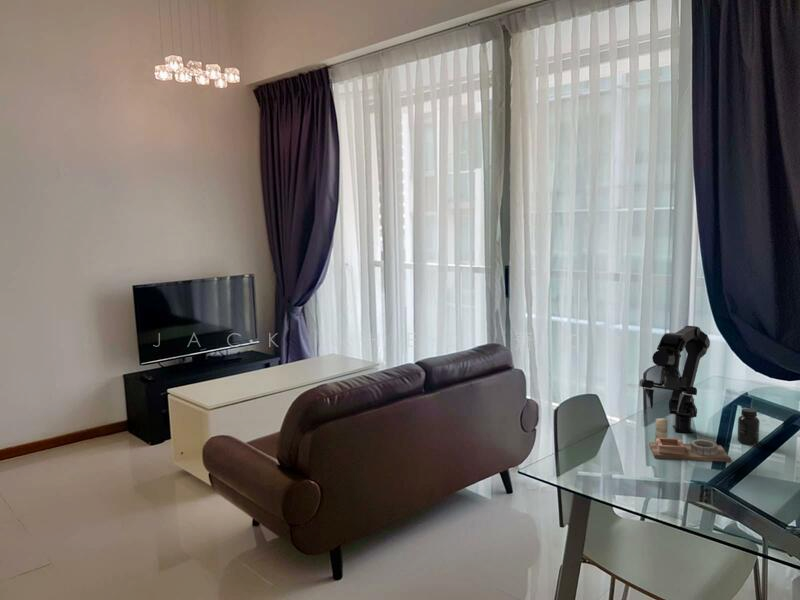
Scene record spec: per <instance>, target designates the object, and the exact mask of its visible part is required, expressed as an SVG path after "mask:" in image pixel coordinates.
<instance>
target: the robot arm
mask: <svg viewBox="0 0 800 600" xmlns="http://www.w3.org/2000/svg"><path fill="white" fill-rule="evenodd" d="M710 345H711V341H710V338H709V336H708V334H706V333H705V332H704V331H702V330H701V328H700V327H698V326H695V325H685V326H684V327H683V328H681V329H680V330H678V331H676V332H666V333H664V334H663V335H662V336H661V339H660V341H659V342H658V345H657V348H656V351H655V352H654V353H653V355H652V362H653V363H654V365H655V366H658V367H661V369H660V377H659V382H654V380H649V379H645V378H644V379H643V378H642V379H640V380H639V384H638V386H639V387H640V388H642V390H644V391H645V393H646V396H647V399H648V402H649V403H648V404H649V407H650V409H653V405H654V392H655V390H654V389H653V388H656V389H662V390H668V391H672V392H671V397H670V398H669V401H668V409H669V410H668V411H669V414H670V415H674V424H673V425H672V426H673V427H672V429H673V428H674V429H673V430H674V432H675V433H687V434H688V433H692V434H693V433H694V429H693V428H692V419H693V418H697V415H698V407H697V406H696V404H695V398H694V396H697V394H698V389H697V387H695V386H694V383H695V381H696V376H697V372H698V368H699V364H700V360H701V359H702V358H703V357H704V356H705V355H707V352H708V349H709V348H710ZM684 350H685V351H686V353H687V355H686V359H685V362H684V366H683V370H682V374H681V376H680V377H679V375H680V374H679V372H680V371H679V369H680V362H681V357H682V354H681V353H682V352H683V351H684Z"/></svg>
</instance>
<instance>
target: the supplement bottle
mask: <svg viewBox="0 0 800 600" xmlns="http://www.w3.org/2000/svg"><path fill="white" fill-rule="evenodd" d="M740 414H741V415H739V417H737V434H736V435H737V436H736V437H737V438H736V439H737V441H738V443H740V444H745V445H748V444H749V445H750V446H755V445H757V444H759V442H760V441H759V440H760V422H761V421H760V419H759V418H758V417H757V416H758V415H757V414H758V410H756V409H754V408H749V407H748V408H746V407H744V408H741V412H740ZM754 444H755V445H754ZM749 445H748V446H749Z"/></svg>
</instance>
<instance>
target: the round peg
mask: <svg viewBox="0 0 800 600" xmlns="http://www.w3.org/2000/svg"><path fill="white" fill-rule="evenodd" d="M654 435H655V437H654V439H655V438H668V420H667V419H665V418H662V417H661V418H655V434H654Z"/></svg>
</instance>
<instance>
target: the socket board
mask: <svg viewBox="0 0 800 600" xmlns="http://www.w3.org/2000/svg"><path fill="white" fill-rule="evenodd" d="M648 446H649V449H650V451H651V453H652V456H653V458H654V459H662V460H663V459H665V460H666V459H667V460H684V461H685V460H686V461H687V460H688V461H704V462H706V461H707V462H724V463H726V462H727V463H731V457H730V456H729V454H728V453H727V451H726V450H725V449H724V447H723V446H722V445H721V444H719V445H718V444H717V443H716V442H714V441H711V440H708V439H701V438H700V439H699V438H698V439H692V440H691V441H690V442H689V443H683V441H682V439H681V438H675V437H674V438H673V437H672V438H671V437H667V438H655V437H654V441H653V442H651V441H649V442H648Z"/></svg>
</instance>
